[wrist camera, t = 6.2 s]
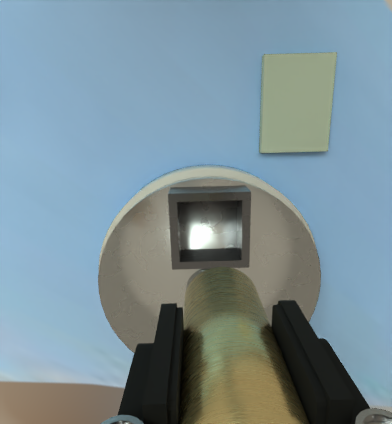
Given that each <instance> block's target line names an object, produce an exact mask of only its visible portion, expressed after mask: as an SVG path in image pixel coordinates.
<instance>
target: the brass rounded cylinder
mask: <svg viewBox="0 0 392 424" xmlns="http://www.w3.org/2000/svg"><path fill="white" fill-rule="evenodd" d="M183 321H184V337H183V356H182V375H181V394H180V413H179V424H309V421H308V419H307V416H306V414H305V411H304V409H303V406H302V404H301V401H300V398H299V396H298V393H297V391H296V388H295V386H294V383H293V381H292V378H291V376H290V373H289V371H288V368H287V366H286V363H285V361H284V358H283V355H282V353H281V350H280V348H279V345H278V343H277V340H276V338H275V335H274V333H273V330H272V328H271V325H270V323H269V320H268V318H267V315H266V312H265V310H264V307H263V305H262V302H261V300H260V297H259V295H258V292H257V290H256V287H255V285H254V283H253V282H252V280H251V279H250V278H249V277H248V276H247V275H245V274H244V273H243V272H241V271H239V270H237V269H234V268H229V267H215V268H211V269H208V270H205V271H203V272H201V273H200V274H198V275H197V276H196V277H195V278H194V279H193V280H192V281H191V282H190V284H189V285H188V287H187V290H186V293H185V301H184V319H183Z"/></svg>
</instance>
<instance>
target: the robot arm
mask: <svg viewBox="0 0 392 424" xmlns="http://www.w3.org/2000/svg"><path fill="white" fill-rule="evenodd" d="M271 328H272V330H273V333H274V335H275V338H276V340H277V343H278V345H279V348H280V350H281V353H282V355H283V358H284V361H285V363H286V366H287V368H288V371H289V373H290V376H291V378H292V381H293V383H294V386H295V388H296V391H297V393H298V396H299V398H300V401H301V404H302V406H303V409H304V411H305V414H306V416H307V419H308V421H309V424H392V413H391V412H389V411H386V410H382V409H377V408H372V409H370V407H369V405H368V404H367V402H366V401H365V399H364V398H363V396H362V394H361V393H360V391H359V390H358V388H357V387H356V385H355V383H354V382H353V380H352V379H351V377H350V376H349V374H348V373H347V371H346V369H345V368H344V366H343V365H342V363H341V362H340V360H339V358H338V357H337V355H336V354H335V352H334V351H333V349H332V347H331V346H330V344H329V343H328V342H327V340H325V339H318V337H317V336H316V334H315V332H314V331H313V329H312V327H311V326H310V324H309V322H308V321H307V319H306V317H305V316H304V314H303V312H302V311H301V309H300V307H299V306H298V304H297V302H296V301H295V300H279V301H278V303H277V305H273V307H272V325H271ZM183 337H184V321H183V307H177V303H166V304H161V308H160V313H159V319H158V324H157V329H156V334H155V339H154V343H138V344H137V347H136V350H135V353H134V357H133V361H132V364H131V368H130V372H129V375H128V379H127V383H126V387H125V390H124V394H123V398H122V402H121V405H120V409H119V412H118V416H115V417H111V418H109V419H108V420H106V421H104V422H102V423H101V424H179V413H180V394H181V375H182V356H183Z"/></svg>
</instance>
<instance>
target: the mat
mask: <svg viewBox="0 0 392 424" xmlns="http://www.w3.org/2000/svg"><path fill="white" fill-rule="evenodd" d="M336 57H337V52H332V53H296V54H264V55H263V56H262V74H261V106H260V138H259V153H281V152H317V151H328V143H329V132H330V122H331V111H332V100H333V89H334V79H335V68H336Z"/></svg>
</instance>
